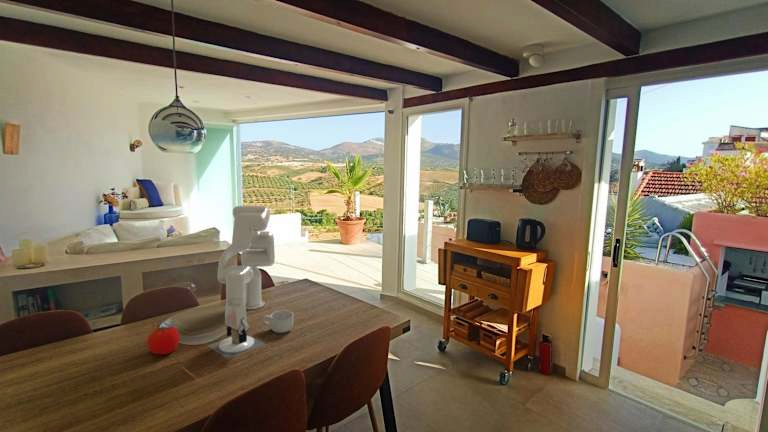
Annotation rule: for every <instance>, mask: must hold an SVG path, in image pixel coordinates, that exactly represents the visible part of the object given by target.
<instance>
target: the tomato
mask: <svg viewBox="0 0 768 432" xmlns="http://www.w3.org/2000/svg"><path fill="white" fill-rule="evenodd" d="M179 343H180V333H179V331H178V329H177V327H175V326H173V325H172V326H161V327H157V328H156V329H154V330H153V331H152V332H150V333H149V335H148V336H147V339H146V346H147V347H148V350H150V351H151V352H152V353H153V354H155V355H167V354H169V353H172V352H174V351H175V350H176V349H177V347H178V346H179Z"/></svg>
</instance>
